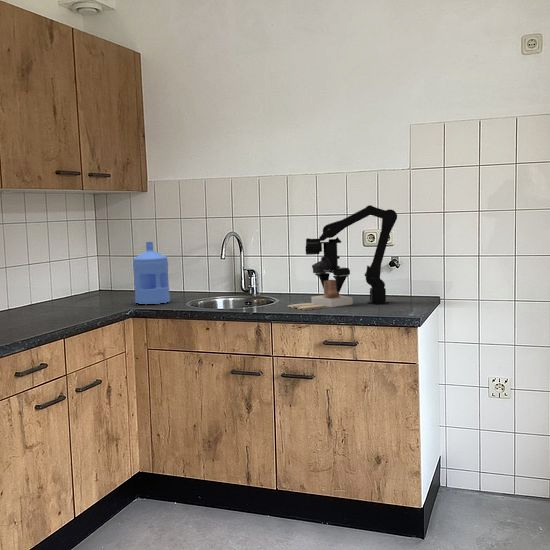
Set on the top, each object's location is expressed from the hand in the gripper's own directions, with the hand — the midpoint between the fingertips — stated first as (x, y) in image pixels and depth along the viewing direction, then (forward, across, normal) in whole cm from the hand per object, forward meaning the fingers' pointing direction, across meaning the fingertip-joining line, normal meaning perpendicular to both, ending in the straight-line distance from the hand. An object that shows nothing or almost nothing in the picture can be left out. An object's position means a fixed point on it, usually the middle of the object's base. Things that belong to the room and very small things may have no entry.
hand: (331, 291), depth 278 cm
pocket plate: (+6, 0, 0) cm, 6 cm away
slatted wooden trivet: (+6, 0, -13) cm, 14 cm away
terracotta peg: (+6, 0, 0) cm, 6 cm away
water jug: (+6, -63, -55) cm, 84 cm away
